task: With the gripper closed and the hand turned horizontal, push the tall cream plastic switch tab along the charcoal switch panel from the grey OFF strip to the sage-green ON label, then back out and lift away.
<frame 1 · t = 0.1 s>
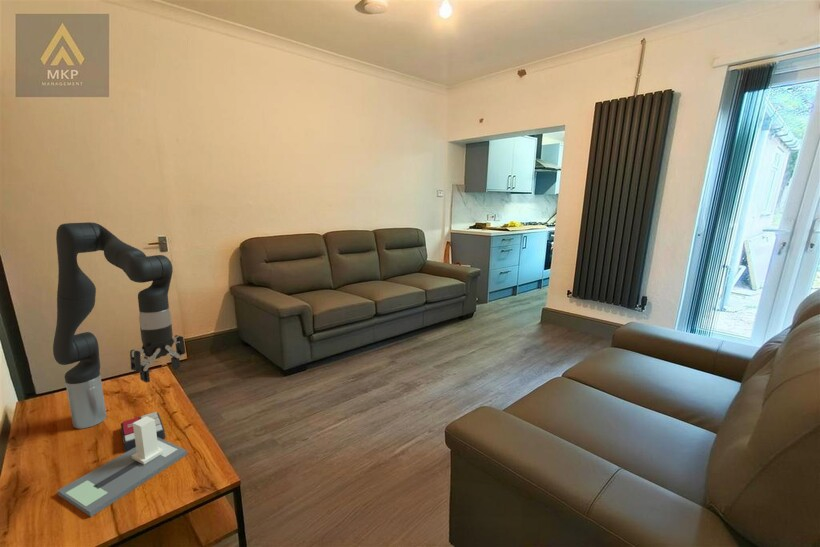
hand: (161, 375, 108), 29 cm above the table, tool pointing down, fingers open, 8 cm apart
switch slider: (146, 438, 112), point 8 cm above the table, slide at 0.0 cm
switch panel: (127, 473, 108), on the table
calculator: (143, 435, 126), on the table
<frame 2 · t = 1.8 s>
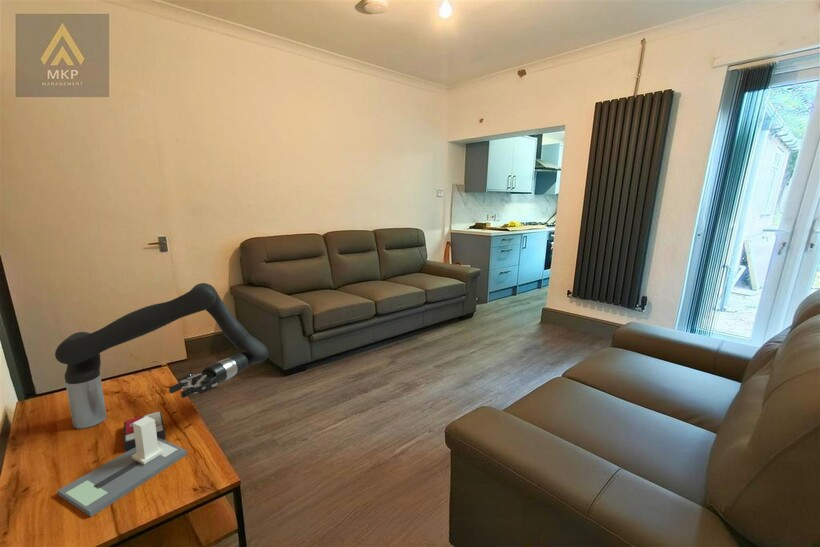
hand: (176, 392, 119), 18 cm above the table, tool horizontal, fingers open, 5 cm apart
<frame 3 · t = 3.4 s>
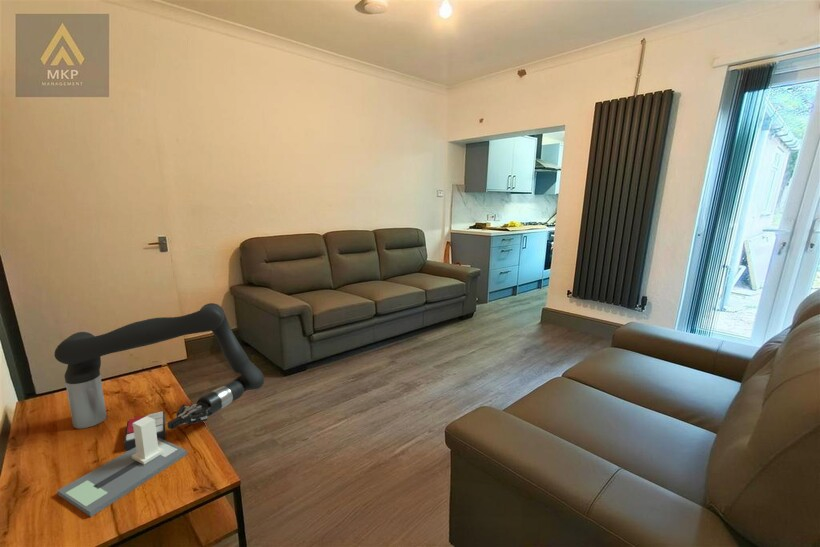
hand: (169, 426, 118), 8 cm above the table, tool horizontal, fingers closed
calculator: (146, 434, 126), on the table, touching switch panel
everything else where it was.
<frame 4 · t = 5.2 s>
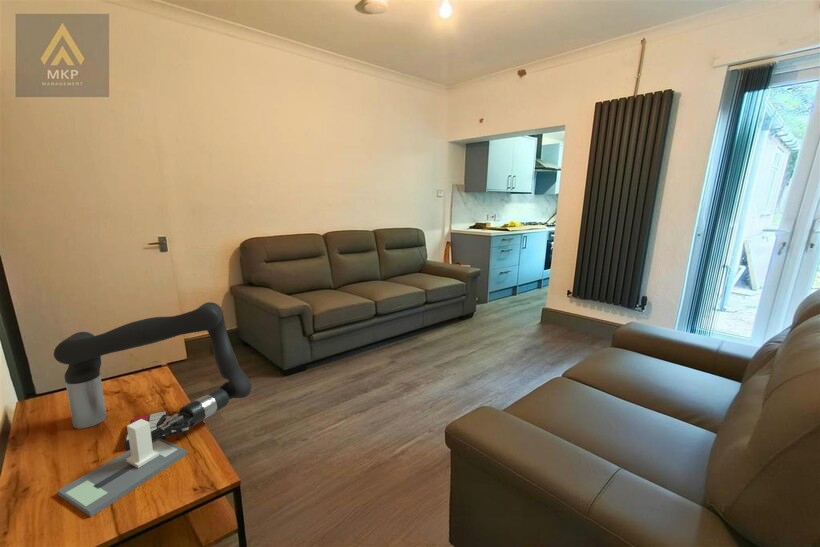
hand: (147, 438, 112), 7 cm above the table, tool horizontal, fingers closed
switch slider: (140, 441, 110), point 8 cm above the table, slide at 1.6 cm, touching gripper
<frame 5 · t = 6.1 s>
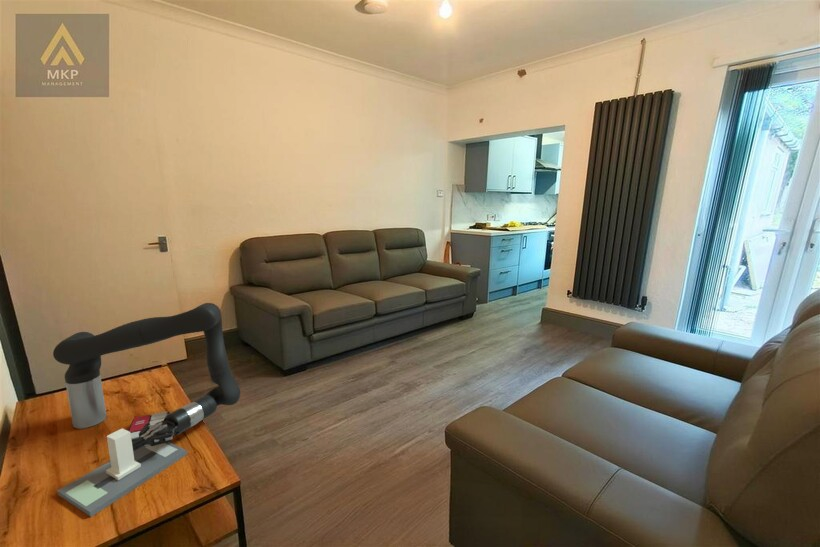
hand: (128, 448, 108), 7 cm above the table, tool horizontal, fingers closed
switch slider: (121, 452, 106), point 8 cm above the table, slide at 6.9 cm, touching gripper
everything else where it was.
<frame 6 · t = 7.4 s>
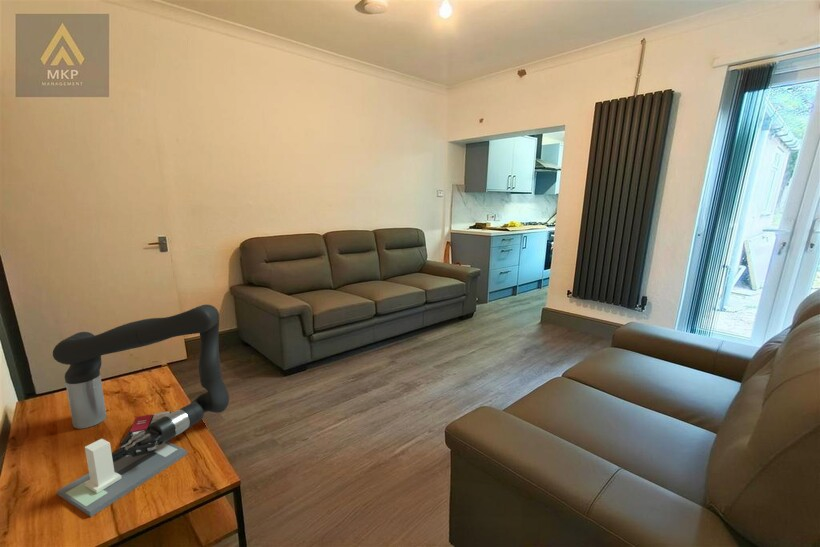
hand: (108, 460, 103), 7 cm above the table, tool horizontal, fingers closed
switch slider: (100, 463, 101), point 8 cm above the table, slide at 12.1 cm, touching gripper
calculator: (150, 434, 126), on the table
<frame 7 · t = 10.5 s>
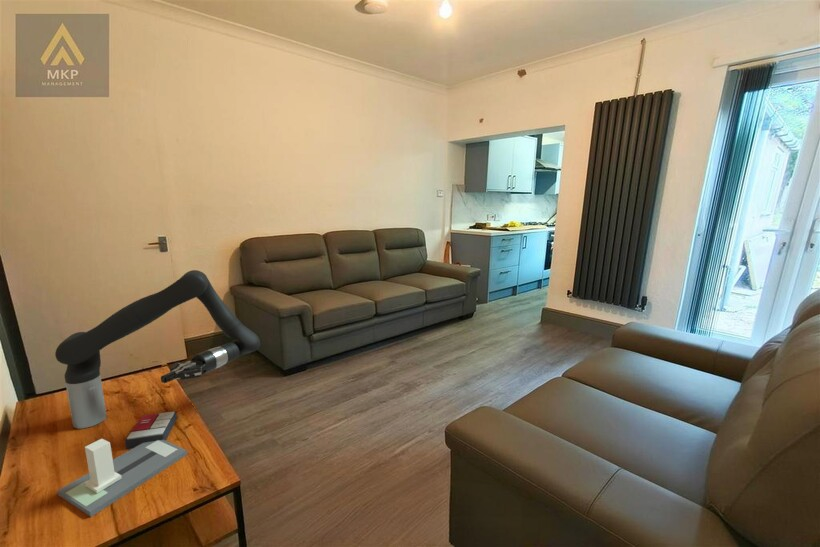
hand: (162, 380, 116), 23 cm above the table, tool horizontal, fingers closed
switch slider: (100, 463, 101), point 8 cm above the table, slide at 12.0 cm
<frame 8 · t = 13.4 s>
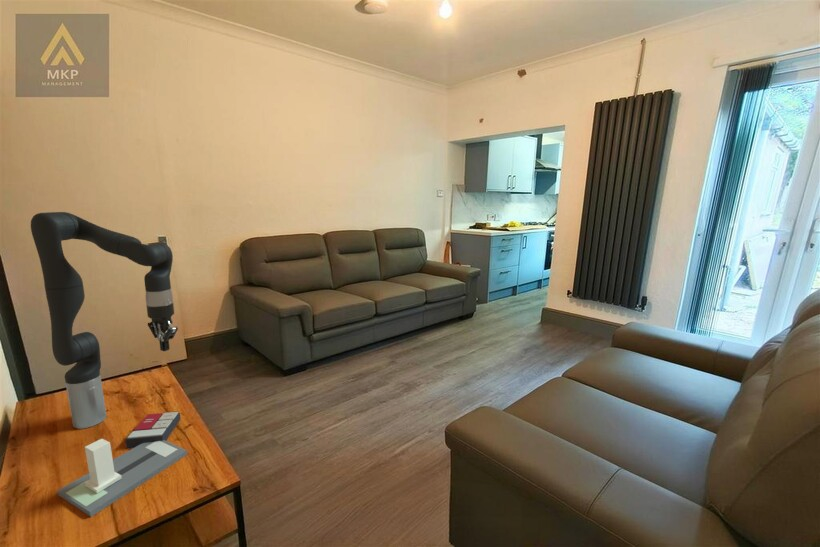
hand: (165, 350, 125), 29 cm above the table, tool pointing down, fingers closed
calculator: (155, 434, 127), on the table, touching switch panel
everything else where it was.
at the end: switch slider slide at 12.0 cm; calculator moved 3.7 cm from its start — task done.
